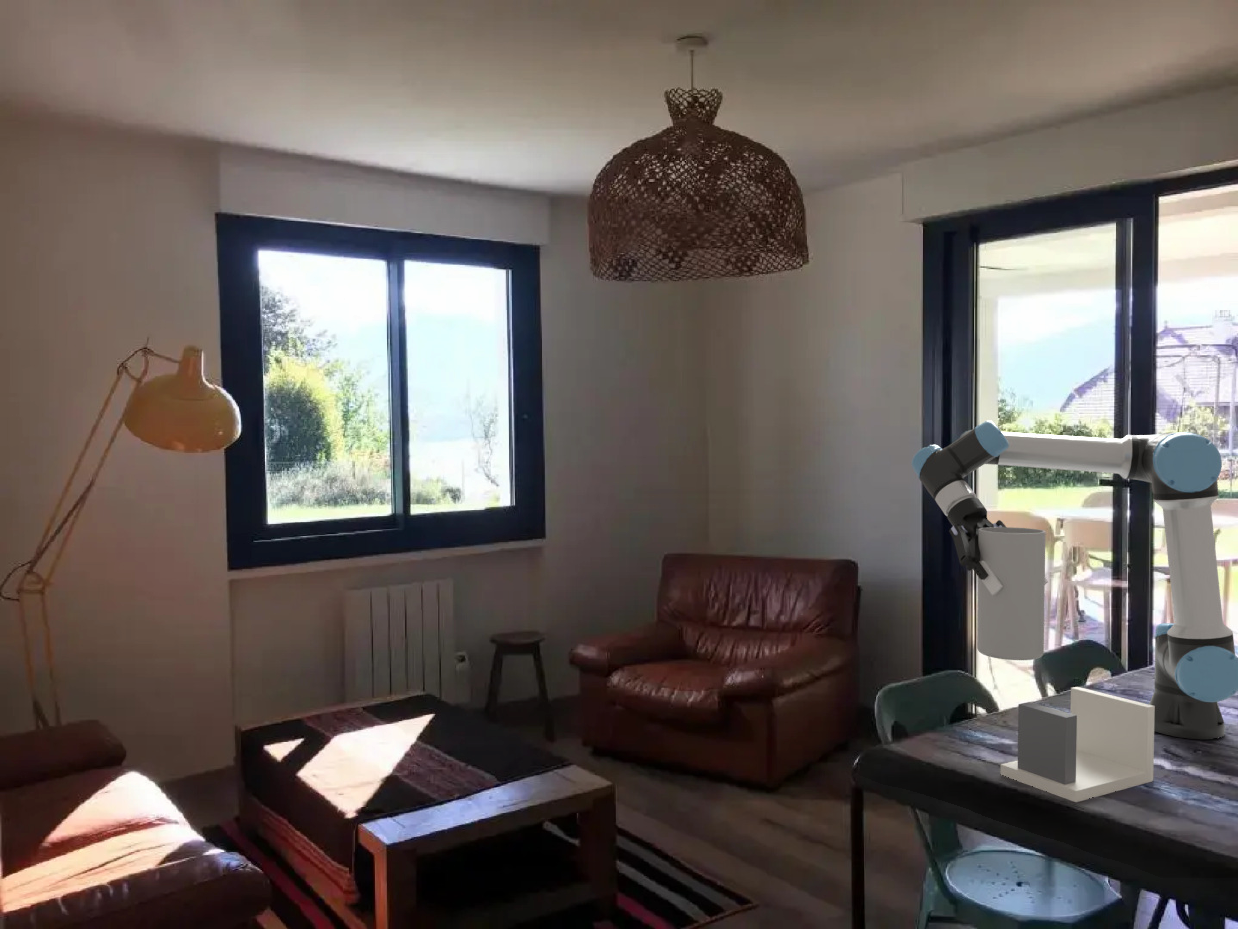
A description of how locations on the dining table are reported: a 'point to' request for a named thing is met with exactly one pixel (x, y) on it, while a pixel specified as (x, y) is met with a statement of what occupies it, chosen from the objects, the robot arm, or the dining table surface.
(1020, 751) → the white corner bracket
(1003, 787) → the dining table surface
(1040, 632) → the cylinder vase
